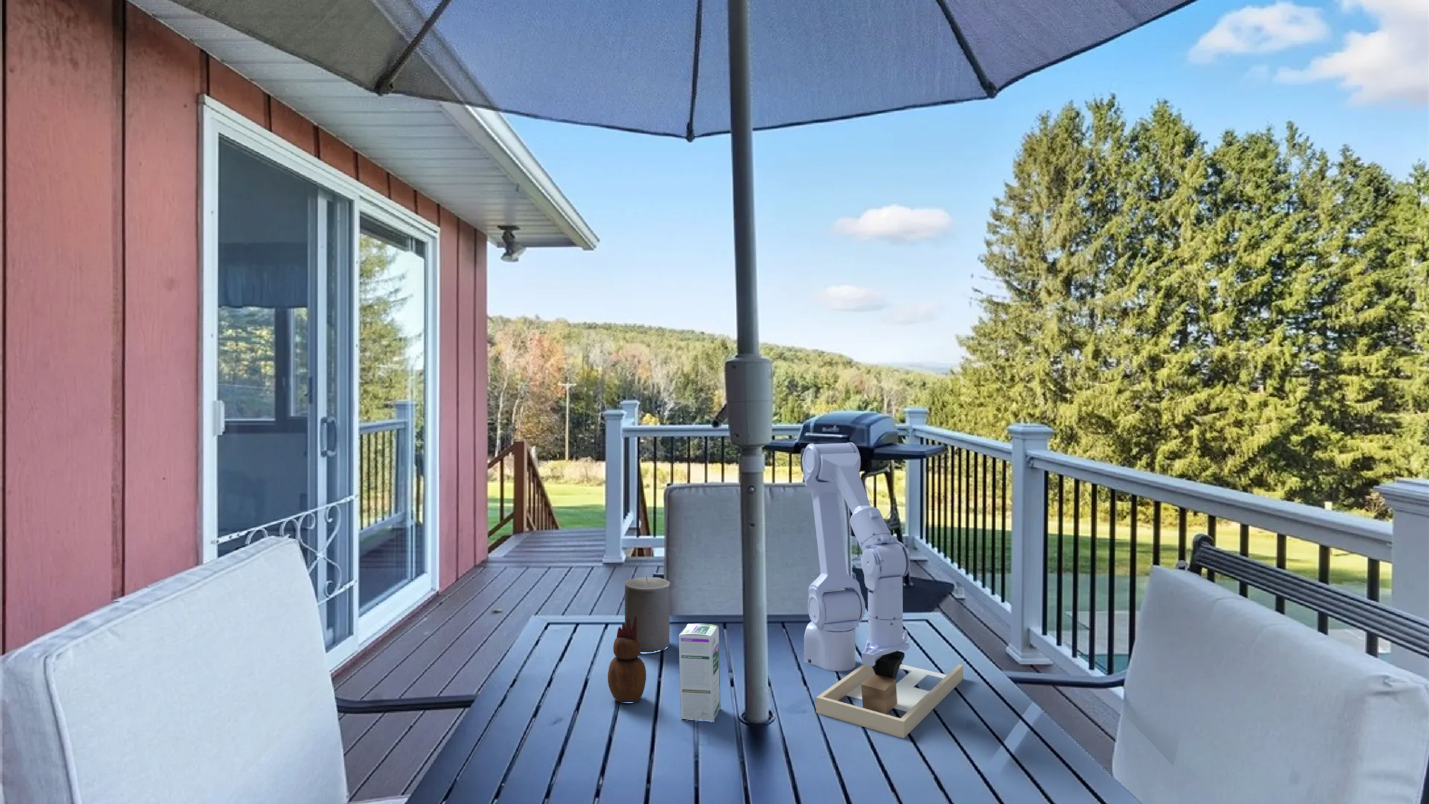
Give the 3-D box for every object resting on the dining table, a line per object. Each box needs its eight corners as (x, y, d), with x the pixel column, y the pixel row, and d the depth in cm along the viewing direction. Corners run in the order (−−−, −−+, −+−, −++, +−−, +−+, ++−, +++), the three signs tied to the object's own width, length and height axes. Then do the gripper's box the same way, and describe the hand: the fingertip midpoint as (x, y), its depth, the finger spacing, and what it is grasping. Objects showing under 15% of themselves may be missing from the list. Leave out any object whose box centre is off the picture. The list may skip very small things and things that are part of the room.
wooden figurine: (652, 700, 128) (651, 615, 128) (627, 710, 124) (626, 623, 124) (627, 689, 133) (626, 607, 132) (602, 699, 128) (601, 615, 128)
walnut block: (862, 708, 121) (861, 684, 120) (874, 696, 124) (872, 673, 124) (886, 715, 118) (884, 690, 118) (897, 703, 121) (895, 679, 121)
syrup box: (714, 723, 119) (713, 635, 119) (679, 720, 120) (678, 633, 120) (720, 708, 124) (720, 624, 124) (687, 705, 126) (686, 622, 125)
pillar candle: (616, 652, 152) (616, 580, 151) (635, 636, 161) (635, 569, 161) (660, 657, 149) (660, 584, 148) (676, 641, 158) (676, 572, 158)
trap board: (816, 721, 119) (816, 697, 119) (885, 668, 142) (885, 648, 142) (903, 747, 110) (903, 721, 110) (963, 686, 133) (963, 665, 133)
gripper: (890, 630, 115) (891, 716, 115) (923, 608, 126) (924, 685, 127) (849, 622, 119) (850, 705, 119) (885, 601, 131) (886, 676, 131)
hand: (885, 694), depth 123 cm, fingers closed, pressing on walnut block
